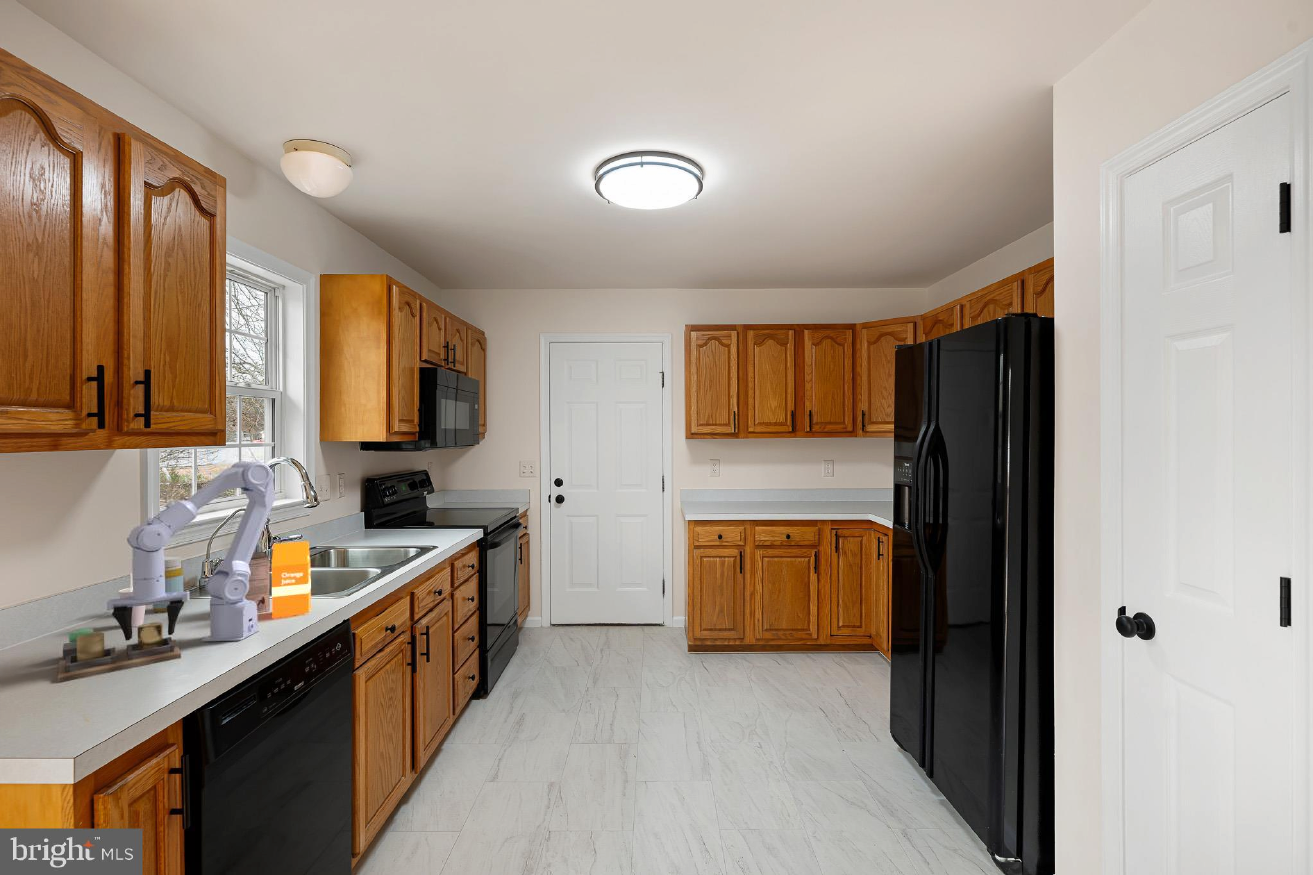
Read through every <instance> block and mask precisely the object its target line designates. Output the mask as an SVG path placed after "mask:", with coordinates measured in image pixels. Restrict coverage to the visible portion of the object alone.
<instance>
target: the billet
mask: <svg viewBox="0 0 1313 875" xmlns="http://www.w3.org/2000/svg"><path fill="white" fill-rule="evenodd" d="M163 630H164V629H163V622H160V621H158V622H157V621H155V622H148V623H147V622H146V623H143V625H140V626H137V643H138V651H141V650H146V649H151V648H157V647H162V646H163V638H164V637H163V633H164V632H163Z"/></svg>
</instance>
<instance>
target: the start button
mask: <svg viewBox="0 0 1313 875" xmlns="http://www.w3.org/2000/svg"><path fill="white" fill-rule="evenodd" d="M89 633H94V629H93V628H84V629H77V630H73V631H70V632H69V633H68V640H69V641H68V643H70V642H77V637H78V636H81V635H84V634H89Z"/></svg>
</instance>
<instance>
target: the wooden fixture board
mask: <svg viewBox="0 0 1313 875" xmlns="http://www.w3.org/2000/svg"><path fill="white" fill-rule="evenodd" d="M176 658H177V659H181V658H182V652H181V651H180V646H179V645H178V644H177V641H176V639H173V638H172V636H169V637H168V636H167V637H163V646H162V647H157V648H151V649H146V650H141V651H138V642H136V643H130V644H126V648H123V649H118V650H116V647H115V646H114V647H108V648H105V632H101V631H100V632H99V631H98V632H93V633H89V634H84V635H81V636H78V637H77V654H75V655H69V656H66V660H64V661H63V660H60V661H59V666H58V667H59V668H58V675H57V683H62V682H68V681H74V680H77V679H83V678H87V677H88V678H89V677H93V676H97V675H103V674H107V673H106V672H108V673H112V672H117V671H116V670H118V671H122V669H123V670H127V669H128V670H129V669H131V668H132V667H133V668H137V667H141V666H146V665H151V663H152V664H157V663H161V661H162V662H166V661H167V662H168V661H171V660H176Z"/></svg>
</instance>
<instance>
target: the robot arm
mask: <svg viewBox="0 0 1313 875" xmlns="http://www.w3.org/2000/svg"><path fill="white" fill-rule="evenodd" d="M275 476H276V475H275V473H274V472H273V471H272V469H271V468H270V467H269V465H268V464H267V463H265V462H263V461H245V460H244V461H243V460H241V461H236V462H235V463H233V464H232V465H231V466H230V467H226V469H223V470H222V472H220V473H219V474H218V475H216V476H215V477H214V478H213V479H211V480H210V481H209V482H208V483H207V484H205V485H204V486H202V487H201V488H200V489H199V490H198V491H197V492H195V493H194V494H193V495H191V496H190V497H189V498H188V499H185V500H176V501H175V502H171V501H169V502H168V503H166V504H165V506H164V507H165V508H164V509H163V510H162V511H160V512H159V513H157V514H156V515H155V516H153V517H148V518H147V519H146V520H145V522H146V523H145V524H144V523H142V524H139V525H137V526H136V527H133V529H132V530H131V531H130V534H128V537H127V538H126V542H127V544H128V545H129V546H130V547H131V548H132V558H131V560H132V561H131V563H132V564H131V566H132V570H131V571H132V572H131V573H132V587H133V596H132V597H126V598H120V597H119V598H114V599H113V598H112V599H110V600H108V601H106V608H107V609H106V611H112V612H111V614H112V617H113V618H114V619H115V620H116V622H117V623H118V625H119V627H120V628H121V631H122V633H123V636H124V640H125V641H130V640H131V639H133V627H132V609H133V607H135V606H144V605H146V606H153V604H162V603H170V604H168V605H167V612H166V613H167V636H171V635H173V634H174V633H175V628H176V624H177V620H178V617H179V615H180V612H181V611H182V609H183V607H184V605H183V604H185V603H186V602H188V601H190V599H191V598H190V591H189V590H188V591H183V592H170V593H165V558H164V557H165V547H166V546H167V545H168V543H169V541H170V537H173V536H174V535H175V534H177V533H178V532H179V531H181V530H182V529H183V528H185V527H186V526H188V525H189V524H190V523H191V522H192V521H193V520H195V519H196V518H197V514H198V511H199V510H200V509H202V508H203V507H205V506H206V505H208V504H210V503H211V502H212V501H213V500H215V499H216V498H217V497H219V496H221V495H222V494H224V493H225V492H227V491H228V490H233V489H234V490H235V489H240V490H242V491H243V493H244V494H245V497H246V498H247V499H248V501H247V502H248V503H247V505H246V508H245V510H244V512H243V515H242V517H241V520H240V522H239V524H238V526H237V529H236V532H235V534H234V537H233V539H232V541H231V543H230V546H229V548H228V551H227V554H226V556H225V558H224V560H223V561H222V562H220V563H219V564H218V565H217V567H216V568H215V571H214V572H213V573H212V574H211V576H209V577H208V578H207V580H206V582H205V586H204V588H205V592H206V593H207V594H208V595H209V596H210V600H209V633H210V634H209V635H208V636H206V637H204V638H202V639H201V642H226V641H227V642H230V641H231V642H232V641H233V642H234V641H242V640H244V639H245V638H248V637H250V636H252V635H253V634H256V633H258V632H260V628H258V613H257V605H256V603H255V602H254V601H249V600H246V599H245V596H246V594H247V593H248V590H249V577H250V575H251V572H250V568H249V562H250V560H251V557H252V555H253V552H254V551H255V550H256V547H257V545H258V542H259V540H260V537H261V535H262V532H263V530H264V527H265V525H266V523H267V520H268V517H269V515H270V512H271V510H272V508H273V505H274V502H275V500H276V493H275V487H274V486H275V485H274V478H275ZM193 522H194V521H193ZM254 553H255V552H254ZM155 601H156V602H155ZM182 606H183V607H182Z"/></svg>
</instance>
